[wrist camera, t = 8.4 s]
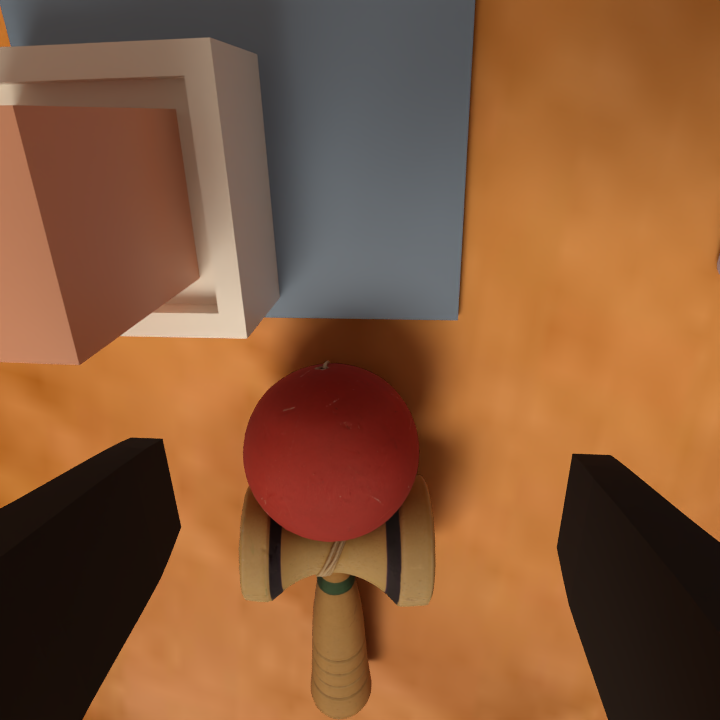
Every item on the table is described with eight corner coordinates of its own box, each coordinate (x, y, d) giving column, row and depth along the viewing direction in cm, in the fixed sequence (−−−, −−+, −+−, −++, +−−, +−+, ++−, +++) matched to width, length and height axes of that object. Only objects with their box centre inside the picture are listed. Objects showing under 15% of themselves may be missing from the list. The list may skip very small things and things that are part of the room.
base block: (257, 54, 16) (209, 37, 12) (279, 297, 19) (247, 338, 15) (23, 64, 16) (-83, 50, 13) (82, 295, 20) (9, 333, 16)
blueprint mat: (496, -414, 12) (498, -430, 11) (457, 316, 19) (457, 320, 18) (-78, -335, 13) (-92, -347, 13) (86, 310, 20) (80, 314, 20)
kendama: (436, 641, 28) (468, 348, 18) (411, 780, 23) (436, 479, 13) (299, 603, 30) (261, 320, 20) (248, 723, 25) (162, 424, 15)
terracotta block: (175, 108, 14) (12, 104, 8) (199, 278, 16) (79, 365, 10) (14, 111, 14) (-239, 108, 9) (57, 275, 16) (-130, 356, 11)
